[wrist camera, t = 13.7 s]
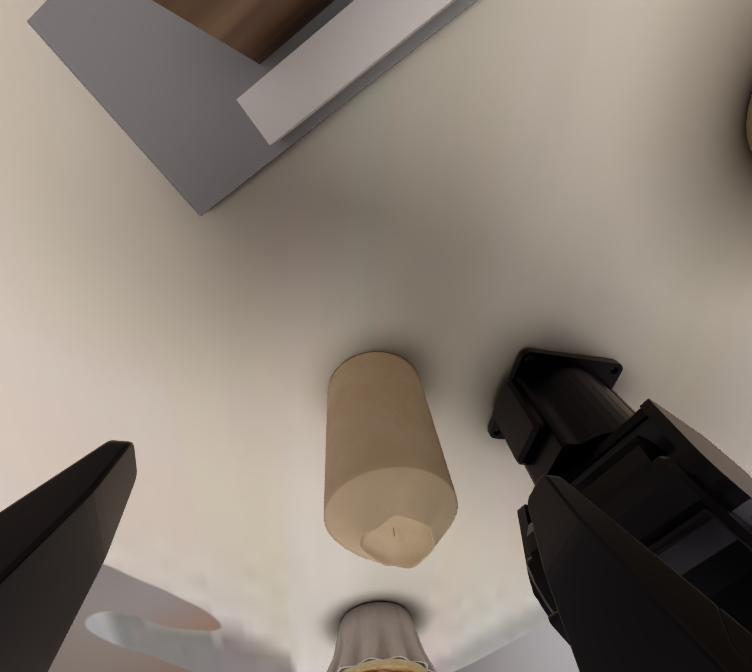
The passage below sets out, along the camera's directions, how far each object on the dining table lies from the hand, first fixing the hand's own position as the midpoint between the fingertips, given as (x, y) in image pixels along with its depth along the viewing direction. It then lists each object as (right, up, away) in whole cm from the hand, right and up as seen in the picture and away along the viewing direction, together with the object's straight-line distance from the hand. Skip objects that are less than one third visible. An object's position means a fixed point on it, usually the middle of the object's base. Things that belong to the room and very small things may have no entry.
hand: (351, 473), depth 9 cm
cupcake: (0, -22, +28) cm, 36 cm away
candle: (0, 0, +15) cm, 15 cm away
